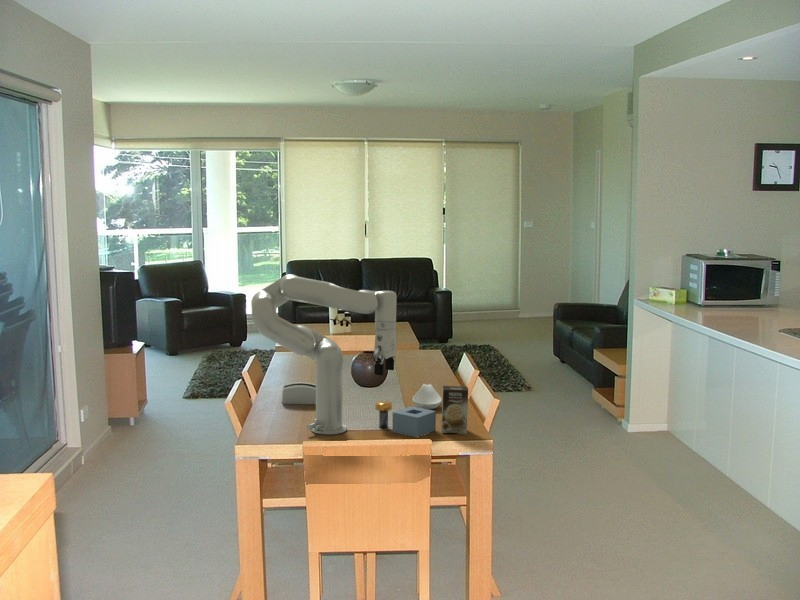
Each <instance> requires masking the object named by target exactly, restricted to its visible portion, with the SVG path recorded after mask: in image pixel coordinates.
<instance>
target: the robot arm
mask: <svg viewBox="0 0 800 600" xmlns="http://www.w3.org/2000/svg"><path fill="white" fill-rule="evenodd" d="M397 299H398V298H397V293H396V292H395V291H393V290H379V291H378V290H369V289H359V290H355V289H351V288H345V287H342V286H339V285H336V284H334V283H333V282H330V281H329V282H328V281H323V280H317V279H312V278H306V277H303V276H298V275H296V274H292V273H290V274H289V273H287V274H285V275H284V276H282V277H280V278H278V279H277V280H275V281H274V282H272V283H270V284H268V285H267V286H265V287H264V288H262V289H260V290H259V291H257V292H256V293H254V295H253V296H252V299H251V316H252V317H251V319H252V323H253V324H254V328H255V329H256V330H257V331H258V332H259V334H261V335H262V336H264V337H265V338H267V339H269V340H271V341H273V342H274V343H276V344H278V345H280V346H281V347H283V348H285V349H287V350H289V351H291V352H292V353H294V354H295V355H299V356H306V357H308V358H310V359H312V360H314V361H315V384H316V404H315V418H314V419H313V422H312V423H309V424H307V425H306V429H307V430H308V431H310V430H311V431H312V433H315V434H318V435H325V436H327V435H329V436H330V435H331V436H332V435H339V434H342V433H345V432H346V431H347V430H348V426H347V425H346V424H344V423H343V371H344V362H345V361H344V353H343V350H342V349H341V347H340V346H339V344H337V342H336V341H334V339H332V338H330V337H328V336H326V335H323V334H322V333H320V332H317V331H315V330H313V328H310V327H308V326H305V325H302V324H301V325H299V324H298V325H296V324H294V323H291V322H289V320H286V319H284V318H282V317H280V316H279V315H278V313H277V308H279V307H280V306H283V305H284V304H286V303H287V302H289V301H294V302H299V303H306V304H310V305H316V306H317V305H318V306H323V307H325V308H326V307H327V308H331V309H337V310H342V311H347V312H352V313H357V314H365V315H369V314H372V313H374V330H375V336H374V352H373V361H374V375H375V376H384V366H385V370H386V371H394V370H395V359H396V357H395V356H396V355H397V350H398V349H397V332H396V330H397V329H396V328H397ZM384 360H385V365H384Z"/></svg>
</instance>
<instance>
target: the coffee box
mask: <svg viewBox="0 0 800 600" xmlns="http://www.w3.org/2000/svg"><path fill="white" fill-rule="evenodd" d="M441 399H442V402H441V405H442V406H441V422H440V423H441V425H440V426H441V428H440V431H441V434H443V433H458V434H457V435H467V434H468V409H469V388H468V386H460V385H459V386H458V385H442V397H441Z"/></svg>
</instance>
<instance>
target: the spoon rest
mask: <svg viewBox="0 0 800 600" xmlns="http://www.w3.org/2000/svg"><path fill="white" fill-rule="evenodd" d="M411 401H412V403H413V404H414V405H415V407H418V408H423V409H427V410H435V409H436V408H438V407H439V406H440V405H442V397H441V395H440V394H439V393H438V392H437V390H436V389H435V388H434V386H433V385H432V384H431V383H429V384H426V383H423V384H422V386H421V388H419V390H418V391H417V392H415V394H414V395H413V397H412V400H411Z"/></svg>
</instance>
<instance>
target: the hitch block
mask: <svg viewBox="0 0 800 600" xmlns="http://www.w3.org/2000/svg"><path fill="white" fill-rule="evenodd" d="M436 411H437V410H433V409H431V410H427V409H423V408H418V407H417V406H410V405H409V406H407V407H404V408H401V409H399V410H396V411H393V412H392V429H391V430H392V433H394V434H395V433H396V434H399V435H403V436H407V435H410V436H409V437H411V436H415V437H414V438H416V437H418V436H421V435H424V434H426V435H428V434H427V433H429V434H431V433H433V432H432V431H434V432H436V427H437V426H436V423H437V421H436V418H437V414H436V413H437V412H436ZM430 432H431V433H430ZM424 436H425V435H424ZM421 437H422V436H421Z"/></svg>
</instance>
